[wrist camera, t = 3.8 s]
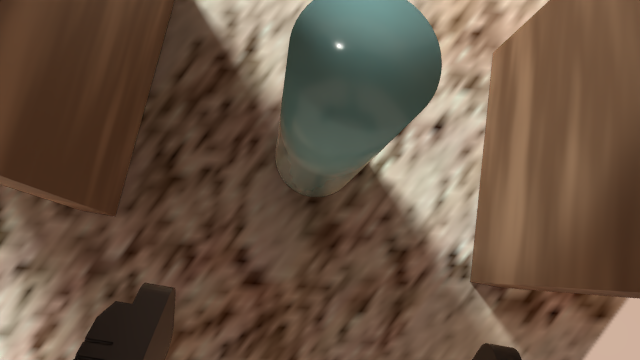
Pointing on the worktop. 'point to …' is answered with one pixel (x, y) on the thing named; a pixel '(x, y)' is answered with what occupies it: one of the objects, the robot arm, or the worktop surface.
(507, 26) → the worktop surface
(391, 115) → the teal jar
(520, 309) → the worktop surface
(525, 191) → the walnut shelf
